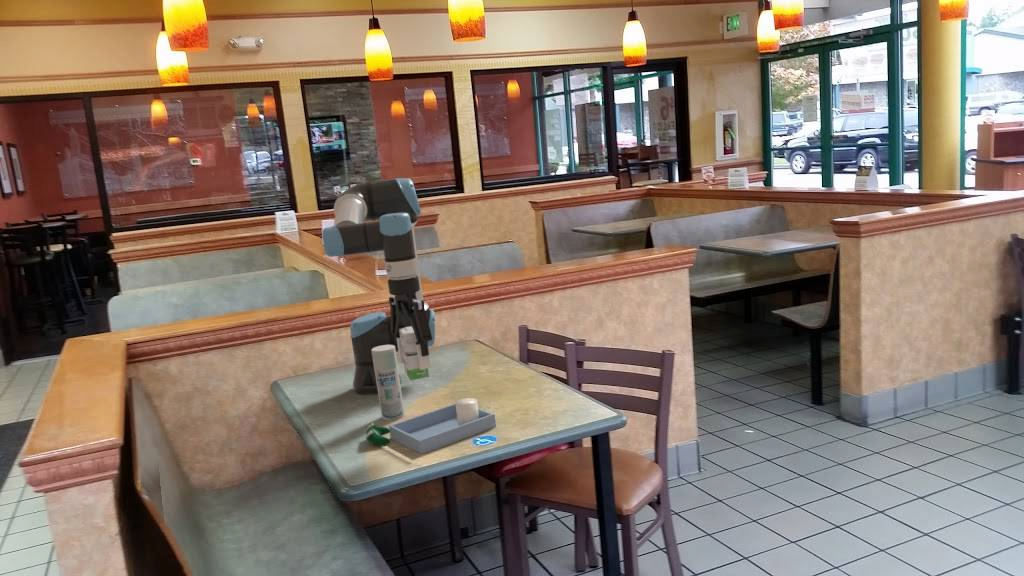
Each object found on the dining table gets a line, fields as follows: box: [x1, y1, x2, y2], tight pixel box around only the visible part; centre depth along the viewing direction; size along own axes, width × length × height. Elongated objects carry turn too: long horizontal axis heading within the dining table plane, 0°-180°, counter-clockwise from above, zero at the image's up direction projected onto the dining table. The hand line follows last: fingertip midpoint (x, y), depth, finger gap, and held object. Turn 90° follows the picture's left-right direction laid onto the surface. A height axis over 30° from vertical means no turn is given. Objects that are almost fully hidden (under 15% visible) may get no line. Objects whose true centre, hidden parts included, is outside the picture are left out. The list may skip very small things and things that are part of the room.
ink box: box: [399, 326, 430, 381], centre depth 189 cm, size 9×5×12 cm, turn 17°
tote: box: [388, 403, 497, 455], centre depth 194 cm, size 16×22×4 cm
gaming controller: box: [365, 422, 391, 447], centre depth 195 cm, size 9×4×6 cm
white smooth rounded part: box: [454, 397, 479, 426], centre depth 195 cm, size 6×6×7 cm
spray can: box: [371, 345, 405, 422], centre depth 211 cm, size 6×6×20 cm
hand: (415, 365), depth 189 cm, fingers closed on ink box, 9 cm apart
